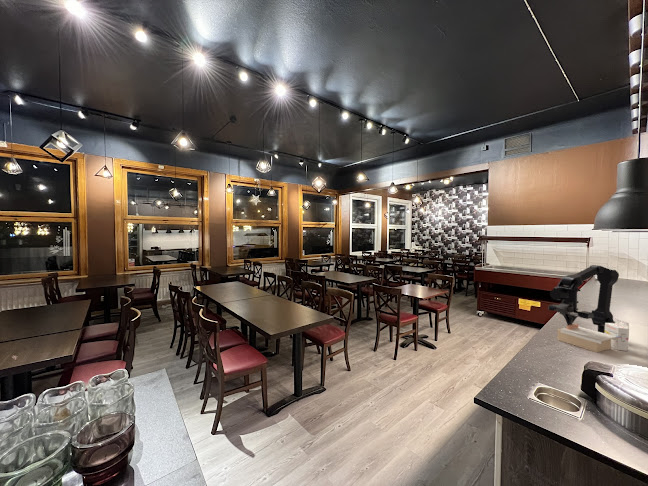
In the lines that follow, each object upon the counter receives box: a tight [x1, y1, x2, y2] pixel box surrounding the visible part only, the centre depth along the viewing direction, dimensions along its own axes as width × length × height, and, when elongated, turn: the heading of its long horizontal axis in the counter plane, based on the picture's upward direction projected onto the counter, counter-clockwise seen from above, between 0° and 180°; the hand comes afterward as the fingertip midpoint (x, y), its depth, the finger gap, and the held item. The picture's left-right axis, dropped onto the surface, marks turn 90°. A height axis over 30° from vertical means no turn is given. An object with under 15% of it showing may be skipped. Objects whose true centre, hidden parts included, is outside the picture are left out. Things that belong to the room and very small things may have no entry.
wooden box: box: [557, 326, 612, 353], centre depth 145 cm, size 12×17×6 cm
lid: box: [560, 323, 617, 344], centre depth 143 cm, size 14×17×4 cm
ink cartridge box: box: [605, 317, 630, 352], centre depth 140 cm, size 9×5×15 cm, turn 170°
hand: (569, 326), depth 151 cm, fingers closed
